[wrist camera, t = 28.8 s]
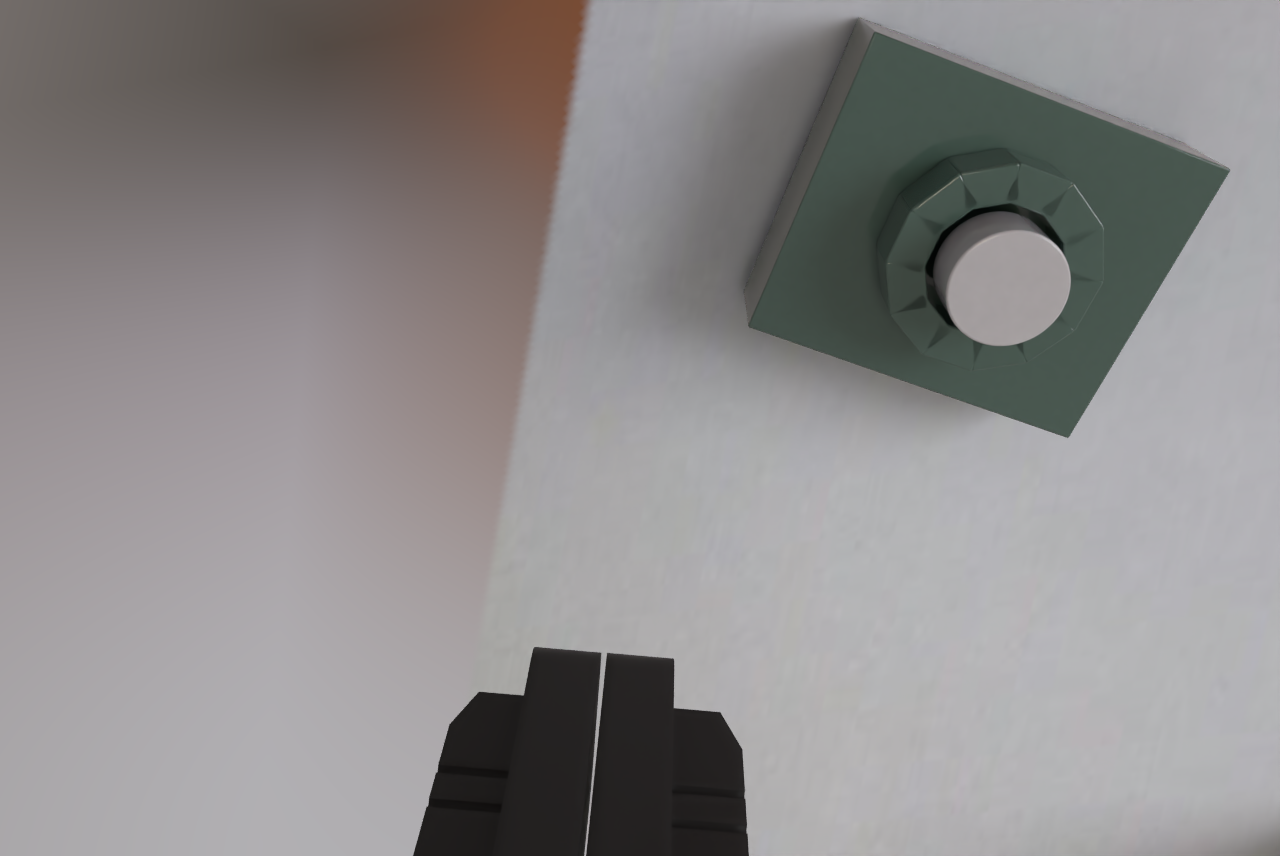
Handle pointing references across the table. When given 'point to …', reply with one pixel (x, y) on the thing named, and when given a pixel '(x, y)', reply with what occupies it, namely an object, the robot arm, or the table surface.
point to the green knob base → (951, 194)
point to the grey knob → (1001, 278)
